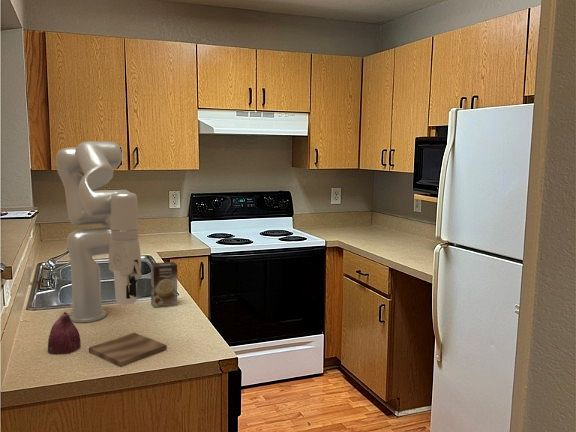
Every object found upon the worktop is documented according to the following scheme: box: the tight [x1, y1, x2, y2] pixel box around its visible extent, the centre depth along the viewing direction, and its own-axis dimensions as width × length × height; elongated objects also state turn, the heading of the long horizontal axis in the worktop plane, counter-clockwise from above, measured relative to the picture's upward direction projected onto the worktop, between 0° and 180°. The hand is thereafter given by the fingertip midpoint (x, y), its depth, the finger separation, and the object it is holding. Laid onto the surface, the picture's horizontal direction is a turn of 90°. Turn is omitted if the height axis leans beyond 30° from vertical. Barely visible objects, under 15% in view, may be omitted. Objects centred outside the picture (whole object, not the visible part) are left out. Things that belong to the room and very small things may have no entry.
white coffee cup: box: [113, 270, 138, 305], centre depth 152 cm, size 7×7×10 cm
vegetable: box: [47, 311, 81, 355], centre depth 154 cm, size 10×9×14 cm
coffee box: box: [150, 261, 178, 308], centre depth 199 cm, size 9×6×16 cm
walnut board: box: [88, 332, 168, 368], centre depth 154 cm, size 16×16×2 cm
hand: (126, 295), depth 152 cm, fingers closed on white coffee cup, 3 cm apart
